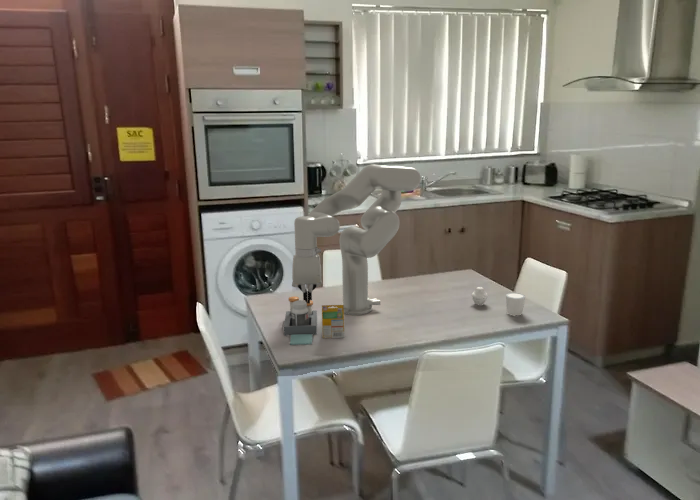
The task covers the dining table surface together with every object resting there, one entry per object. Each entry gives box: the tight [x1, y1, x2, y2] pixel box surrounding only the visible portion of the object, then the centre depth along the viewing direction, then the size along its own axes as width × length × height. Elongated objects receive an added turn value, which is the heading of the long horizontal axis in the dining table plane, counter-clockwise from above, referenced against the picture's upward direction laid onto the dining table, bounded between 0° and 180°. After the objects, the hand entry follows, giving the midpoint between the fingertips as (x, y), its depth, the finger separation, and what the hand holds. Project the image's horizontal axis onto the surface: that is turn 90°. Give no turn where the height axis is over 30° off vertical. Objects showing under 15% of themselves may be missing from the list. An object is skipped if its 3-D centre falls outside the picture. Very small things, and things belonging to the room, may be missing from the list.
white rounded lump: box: [471, 286, 489, 306], centre depth 215 cm, size 6×6×7 cm
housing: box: [283, 310, 318, 336], centre depth 195 cm, size 11×15×3 cm
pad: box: [289, 334, 313, 346], centre depth 184 cm, size 7×7×1 cm
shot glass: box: [505, 292, 526, 315], centre depth 205 cm, size 7×7×7 cm
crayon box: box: [321, 304, 345, 339], centre depth 185 cm, size 7×3×12 cm, turn 92°
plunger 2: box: [306, 300, 314, 315], centre depth 200 cm, size 4×4×7 cm
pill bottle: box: [292, 299, 309, 326], centre depth 192 cm, size 6×6×10 cm
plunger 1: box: [288, 296, 300, 315], centre depth 199 cm, size 4×4×7 cm
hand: (307, 302), depth 199 cm, fingers closed
